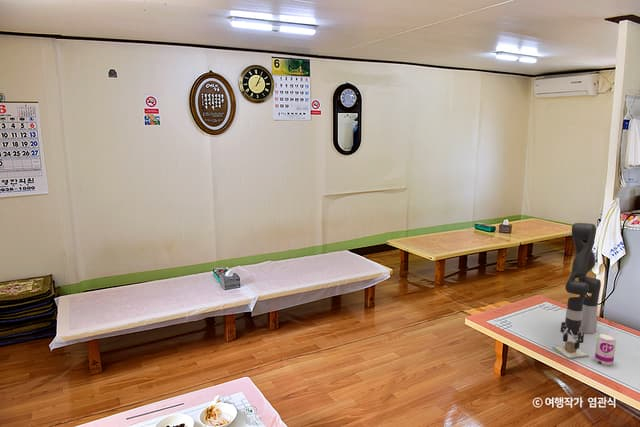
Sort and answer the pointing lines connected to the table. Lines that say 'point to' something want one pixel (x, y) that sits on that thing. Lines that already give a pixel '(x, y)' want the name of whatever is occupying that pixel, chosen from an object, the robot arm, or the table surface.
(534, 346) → the table surface
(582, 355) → the board
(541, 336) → the table surface
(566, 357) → the rubber mat
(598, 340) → the supplement can
